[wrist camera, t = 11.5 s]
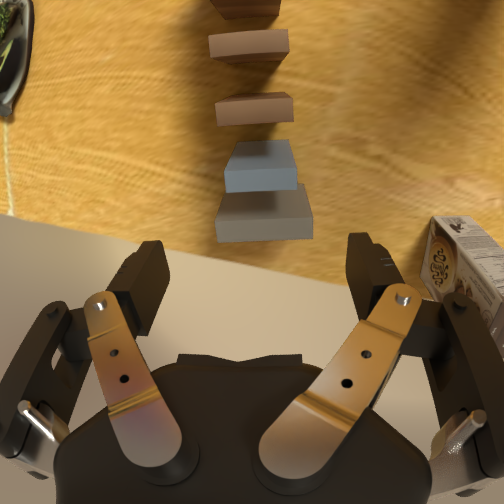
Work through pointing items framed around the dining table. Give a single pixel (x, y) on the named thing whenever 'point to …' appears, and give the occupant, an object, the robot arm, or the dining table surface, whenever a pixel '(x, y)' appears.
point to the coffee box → (466, 268)
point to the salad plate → (14, 48)
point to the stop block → (264, 216)
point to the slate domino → (261, 167)
